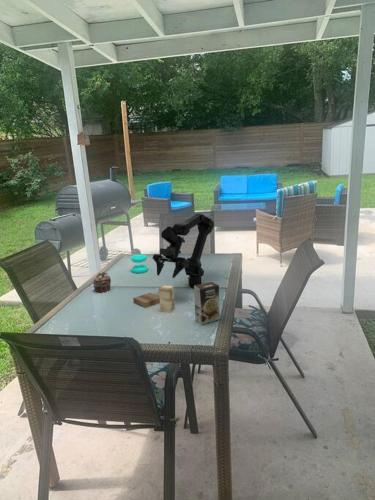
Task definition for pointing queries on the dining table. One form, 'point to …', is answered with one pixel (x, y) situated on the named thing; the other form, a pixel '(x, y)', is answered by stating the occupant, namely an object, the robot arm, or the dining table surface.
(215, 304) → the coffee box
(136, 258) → the cyan spool
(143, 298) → the walnut slab
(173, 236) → the robot arm
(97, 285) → the cupcake
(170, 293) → the maple block
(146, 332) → the dining table surface
